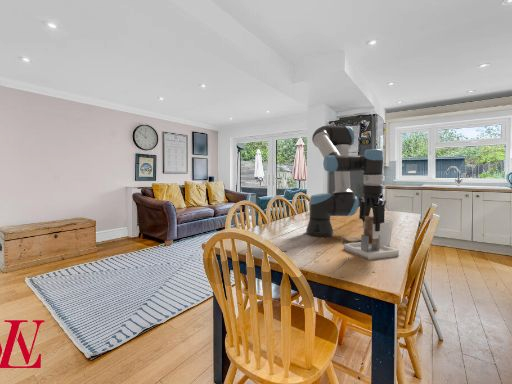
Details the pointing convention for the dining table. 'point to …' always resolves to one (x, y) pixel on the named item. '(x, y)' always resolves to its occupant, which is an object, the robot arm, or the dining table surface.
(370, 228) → the brown rectangular block
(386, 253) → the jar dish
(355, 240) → the wick
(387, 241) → the candle holder
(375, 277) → the dining table surface
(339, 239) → the dining table surface
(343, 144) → the robot arm
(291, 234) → the dining table surface
